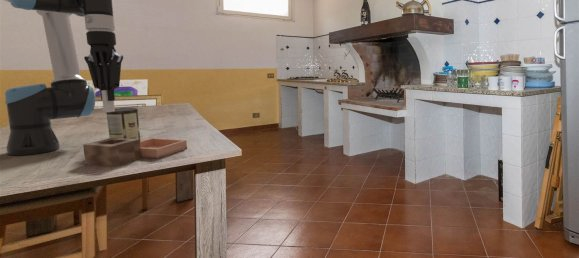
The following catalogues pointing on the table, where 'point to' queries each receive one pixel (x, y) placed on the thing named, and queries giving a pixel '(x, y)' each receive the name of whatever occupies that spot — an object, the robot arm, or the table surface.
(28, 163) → the table surface
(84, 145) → the brown square planter
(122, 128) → the coffee can
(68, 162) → the table surface
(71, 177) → the table surface
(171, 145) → the dish
